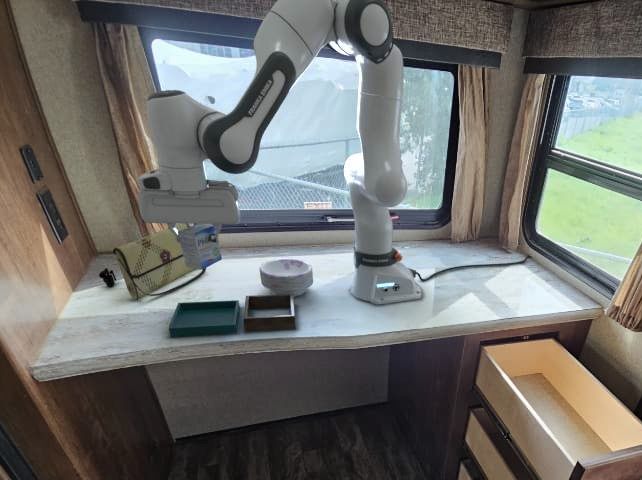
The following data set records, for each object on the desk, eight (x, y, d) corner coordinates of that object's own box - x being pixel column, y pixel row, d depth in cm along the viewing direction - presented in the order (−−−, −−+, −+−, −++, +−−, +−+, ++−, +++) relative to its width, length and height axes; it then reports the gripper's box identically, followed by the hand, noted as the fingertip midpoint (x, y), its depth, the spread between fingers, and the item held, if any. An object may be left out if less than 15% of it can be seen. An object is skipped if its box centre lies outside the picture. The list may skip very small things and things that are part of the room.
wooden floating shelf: (294, 306, 126) (292, 293, 123) (296, 329, 116) (294, 316, 113) (248, 308, 122) (245, 295, 120) (245, 332, 112) (243, 318, 110)
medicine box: (201, 270, 102) (193, 233, 97) (185, 267, 103) (176, 230, 98) (222, 259, 109) (216, 224, 104) (206, 256, 109) (199, 221, 104)
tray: (240, 308, 122) (238, 300, 120) (236, 333, 111) (235, 324, 110) (180, 311, 118) (178, 302, 116) (171, 337, 107) (168, 328, 106)
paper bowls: (310, 279, 142) (308, 256, 137) (317, 299, 130) (315, 275, 126) (261, 282, 137) (257, 258, 132) (264, 303, 125) (260, 278, 121)
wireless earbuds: (110, 291, 124) (104, 274, 121) (100, 291, 123) (93, 274, 120) (118, 281, 129) (112, 264, 126) (108, 281, 128) (102, 264, 125)
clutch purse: (148, 306, 118) (130, 253, 109) (125, 302, 119) (106, 248, 110) (215, 268, 142) (205, 222, 133) (196, 265, 143) (184, 219, 134)
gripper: (236, 178, 100) (246, 237, 108) (135, 173, 94) (153, 237, 102) (235, 184, 95) (244, 246, 103) (128, 180, 89) (147, 246, 97)
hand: (198, 241), depth 102 cm, fingers closed on medicine box, 6 cm apart
